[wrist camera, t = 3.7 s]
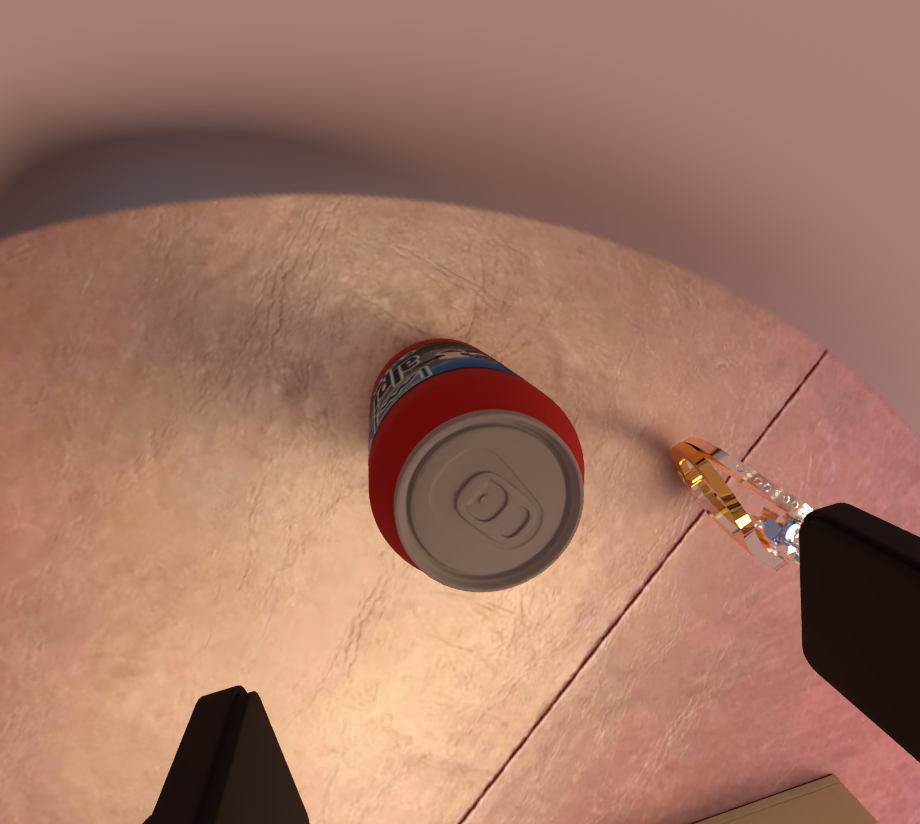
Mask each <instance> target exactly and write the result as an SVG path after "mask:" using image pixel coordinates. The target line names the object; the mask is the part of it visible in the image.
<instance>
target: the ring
mask: <svg viewBox="0 0 920 824" xmlns="http://www.w3.org/2000/svg"><path fill="white" fill-rule="evenodd" d="M671 454H672V458H673V461H674V463H675V466H676V468H677V470H678V471H677V474H678V476H679V478H680V480H681V481H682V482H683V483H685V484H686V486H687V487H688V489H689V490H690V492H691V493H692V495H693V496H694V497H695V499H696V500H697V501H698V502H699V504H700V505H701V506H702V507H703V509H704V510H705V511H706V512H707V513H708V514H709V516H710V517H711V518H712V519H713V520H714V521H715V522H716V523H717V524H718V525H719V526H720V527H721V528H722V529H723V530H724V531H725V532H726V533H727V534H728V535H729V536H730V537H731V538H732V539H733V540H734V541H735V542H736V543H738V544H739V545H740V546H741V547H742V548H743V549H745V550H746V551H747V552H749V553H750V554H751V555H753V556H754V557H755V558H756V559H757V560H759V561H760V562H761V563H763V564H765V565H766V566H768V567H770V568H772V569H774V570H776V571H779V570H780V569H781V568H783V567H784V566H785V565H787V564H788V563H787V562H786V560H785V559H787V560H788V561H789V562H790V561H792V560H793V561H794V562H796V563H797V564H798V565H800V555H799V527H800V525H801V524H803V523H804V517H805V516H806V514H807V513H809V512H810V511H813V510H812V509H811V508H810V507H809V506H808V505H806V504H805V503H804V502H802V501H801V500H799V499H797V498H796V497H794V496H793V495H791V494H789V493H788V492H786V491H785V490H783V489H781V488H780V487H778V486H777V485H775V484H774V483H772V482H771V481H769V480H768V479H766V478H765V477H763V476H762V475H760V474H759V473H757V472H756V471H754V470H753V469H751V468H749V467H748V466H746V465H745V464H743V463H742V462H740V461H739V460H737V459H736V458H734V457H733V456H731V455H729V454H728V453H726V452H725V451H723V450H722V449H720V448H718V447H717V446H715V445H713V444H711V443H709V442H707V441H705V440H703V439H700V438H697V437H689V438H687V439H685V440H684V441H682V442H680V443H678V444H677V445H675V446H674V447H672V448H671ZM707 460H708V461H709V462H711V463H712V464H714V465H715V466H717V467H718V468H720V469H721V470H722V471H724V472H725V473H727V474H728V475H730V476H731V477H733V478H734V479H736V480H737V481H738V482H740V483H741V484H743V485H744V486H746V487H747V488H749V489H750V490H752V491H753V492H755V493H757V494H758V495H760V496H761V497H763V498H764V499H766V500H767V501H769V502H771V503H772V504H774V505H776V506H777V507H779V508H781V509H782V510H784V511H785V512H786V513H785V514H786V515H784V516H780V515H778V514H777V513H775V512H773V511H771V510H770V509H768V508H766V507H764V508H763V509H762V511H761V516H752V517H750V518H749V517H748V515H747V513H746V512H745V510H744V509H743V507H742V506H741V504H740V503H739V501H738V500H737V499H736V497H735V496H734V494H733V493H732V491H731V490H730V489H729V487H728V486H727V485H726V483H725V482H724V481H723V479H722V478H721V477H720V475H719V474H718V473H717V472H716V470H715V469H714V468H713V467H712V466H711V464H710V463H709V462H708V461H707ZM703 479H705V481H706V482H707V483H708V484H709V486H710V487H711V488H712V489H713V491H714V492H715V493H716V494H717V495H718V497H719V498H720V499H721V500H722V501H723V503H724V504H725V505H726V506H727V508H728V509H727V508H726V507H725V506H724V505H723V504H722V503H721V502H720V501H719V500H718V499H717V498H716V497H715V495H714V494H713V493H712V492H711V491H710V489H709V488H708V487H707V485H706V484H705V482H704V481H703ZM757 528H759V530H758V529H757ZM783 557H784V558H785V559H784V558H783Z"/></svg>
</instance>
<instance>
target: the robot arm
mask: <svg viewBox="0 0 920 824" xmlns="http://www.w3.org/2000/svg"><path fill="white" fill-rule="evenodd" d="M799 555H800V587H801V619H802V647H803V652H804V655H805V657H806V659H807V661H808V663H809V664H810V666H811V667H812V668H813V669H814V670H815V671H816V672H817V673H818V674H819V675H820V676H821V677H823V678H824V679H825V680H826V681H827V682H828V683H829V684H831V685H832V686H833V687H834V688H835V689H836V690H837V691H839V692H840V693H841V694H842V695H843V696H844V697H845V698H847V699H848V700H849V701H850V702H851V703H852V704H853V705H855V706H856V707H857V708H858V709H859V710H860V711H861V712H863V713H864V714H865V715H866V716H867V717H868V718H869V719H871V720H872V721H873V722H874V723H875V724H876V725H877V726H879V727H880V728H881V729H882V730H883V731H884V732H885V733H887V734H888V735H889V736H890V737H891V738H892V739H893V740H895V741H896V742H897V743H898V744H899V745H900V746H901V747H903V748H904V749H905V750H906V751H907V752H908V753H909V754H911V755H912V756H913V757H914V758H915V759H916V760H917V761H919V762H920V537H918V536H916V535H914V534H912V533H910V532H908V531H905V530H903V529H901V528H899V527H897V526H895V525H893V524H890V523H888V522H886V521H884V520H882V519H880V518H878V517H876V516H873V515H871V514H869V513H867V512H865V511H863V510H861V509H858V508H856V507H854V506H852V505H850V504H846V503H836V504H833V505H830V506H826V507H823V508H820V509H816V510H813V511H810V512H809V513H807V514H806V516H805V517H804V523H803V524H801V525H800V527H799ZM143 824H309V818H308V815H307V812H306V810H305V807H304V805H303V802H302V800H301V798H300V795H299V793H298V790H297V788H296V785H295V783H294V780H293V778H292V775H291V773H290V770H289V768H288V765H287V763H286V761H285V758H284V756H283V753H282V751H281V748H280V746H279V743H278V741H277V738H276V736H275V733H274V731H273V729H272V726H271V724H270V721H269V719H268V716H267V714H266V711H265V709H264V706H263V704H262V701H261V699H260V697H259V695H258V693H257V692H255V691H253V692H249V693H247V692H246V690H245V689H244V688H243V687H242V686H235V687H231V688H228V689H225V690H221V691H218V692H215V693H212V694H208V695H205V696H202V697H201V698H200V699H199V700H198V702H197V703H196V705H195V708H194V710H193V713H192V715H191V718H190V720H189V723H188V725H187V728H186V730H185V733H184V735H183V738H182V740H181V743H180V745H179V748H178V751H177V753H176V756H175V758H174V761H173V763H172V766H171V768H170V771H169V773H168V776H167V778H166V781H165V783H164V786H163V788H162V791H161V793H160V796H159V798H158V801H157V803H156V806H155V808H154V811H153V813H152V815H151V816H149V817H148V818H147V819H146V820H145V821H144V823H143Z"/></svg>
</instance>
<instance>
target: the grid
mask: <svg viewBox="0 0 920 824" xmlns="http://www.w3.org/2000/svg"><path fill="white" fill-rule="evenodd" d="M694 824H879V823H878V821H877V820H876V819H875V818H874V817H873V816H872V815H871V814H870V813H869V812H868V811H867V810H866V809H865V807H864V806H863V805H862V804H861V803H860V802H859V801H858V800H857V799H856V798H855V797H854V796H853V795H852V793H851V792H850V791H849V790H848V789H847V788H846V787H845V786H844V785H843V784H842V783H841V782H840V780H839V779H838V778H837V777H836V776H835V775H830V776H828V777H825V778H822V779H819V780H816V781H813V782H810V783H808V784H805V785H802V786H799V787H796V788H793V789H791V790H788V791H785V792H782V793H779V794H776V795H774V796H771V797H768V798H765V799H762V800H759V801H757V802H754V803H751V804H748V805H745V806H742V807H740V808H737V809H734V810H731V811H728V812H725V813H722V814H720V815H717V816H714V817H711V818H708V819H705V820H703V821H700V822H697V823H694Z"/></svg>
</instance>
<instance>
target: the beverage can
mask: <svg viewBox="0 0 920 824" xmlns="http://www.w3.org/2000/svg"><path fill="white" fill-rule="evenodd" d="M368 466H369V498H370V504H371V509H372V512H373V516H374V518H375V521H376V524H377V526H378V528H379V530H380V532H381V533H382V535H383V537H384V538H385V540H386V541H387V542H388V544H389V545H390V546H391V547H392V548H393V549H394V551H395V552H396V553H397V554H398V555H400V556H401V557H402V558H403V559H404V560H405V561H407V562H408V563H409V564H411V565H412V566H414V567H415V568H417V569H419V570H421V571H423V572H424V573H425V574H427V575H428V576H429V577H431V578H432V579H434V580H436V581H438V582H439V583H441V584H443V585H446V586H449V587H452V588H455V589H458V590H463V591H470V592H492V591H499V590H504V589H508V588H512V587H514V586H517V585H520V584H522V583H524V582H527V581H529V580H530V579H532V578H534V577H536V576H537V575H539V574H540V573H542V572H543V571H544V570H546V569H547V568H548V567H549V566H550V565H552V564H553V563H554V562H555V561H556V560H557V559H558V558H559V556H560V555H561V554H562V553H563V552H564V550H565V549H566V548H567V546H568V545H569V543H570V541H571V540H572V538H573V536H574V534H575V532H576V530H577V527H578V524H579V521H580V518H581V514H582V509H583V502H584V489H583V485H584V460H583V453H582V449H581V445H580V442H579V439H578V436H577V434H576V431H575V429H574V427H573V425H572V424H571V422H570V420H569V419H568V417H567V416H566V415H565V413H564V412H563V411H562V410H561V409H560V407H559V406H558V405H557V404H556V403H555V402H554V401H553V400H551V399H550V398H549V397H548V396H546V395H545V394H544V393H542V392H541V391H539V390H538V389H537V388H535V387H534V386H533V385H531V384H530V383H528V382H527V381H526V380H524V379H523V378H521V377H520V376H519V375H517V374H516V373H514V372H513V371H511V370H510V369H508V368H507V367H505V366H504V365H502V364H501V363H499V362H498V361H496V360H495V359H493V358H492V357H490V356H488V355H487V354H485V353H483V352H482V351H480V350H479V349H477V348H475V347H473V346H471V345H469V344H466V343H464V342H460V341H456V340H450V339H433V340H427V341H423V342H420V343H417V344H414V345H412V346H410V347H408V348H406V349H404V350H403V351H401V352H400V353H398V354H397V355H396V356H395V357H394V358H392V359H391V360H390V361H389V363H388V364H387V365H386V366H385V367H384V369H383V370H382V372H381V373H380V375H379V377H378V379H377V381H376V383H375V386H374V389H373V392H372V397H371V404H370V418H369V458H368Z"/></svg>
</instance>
